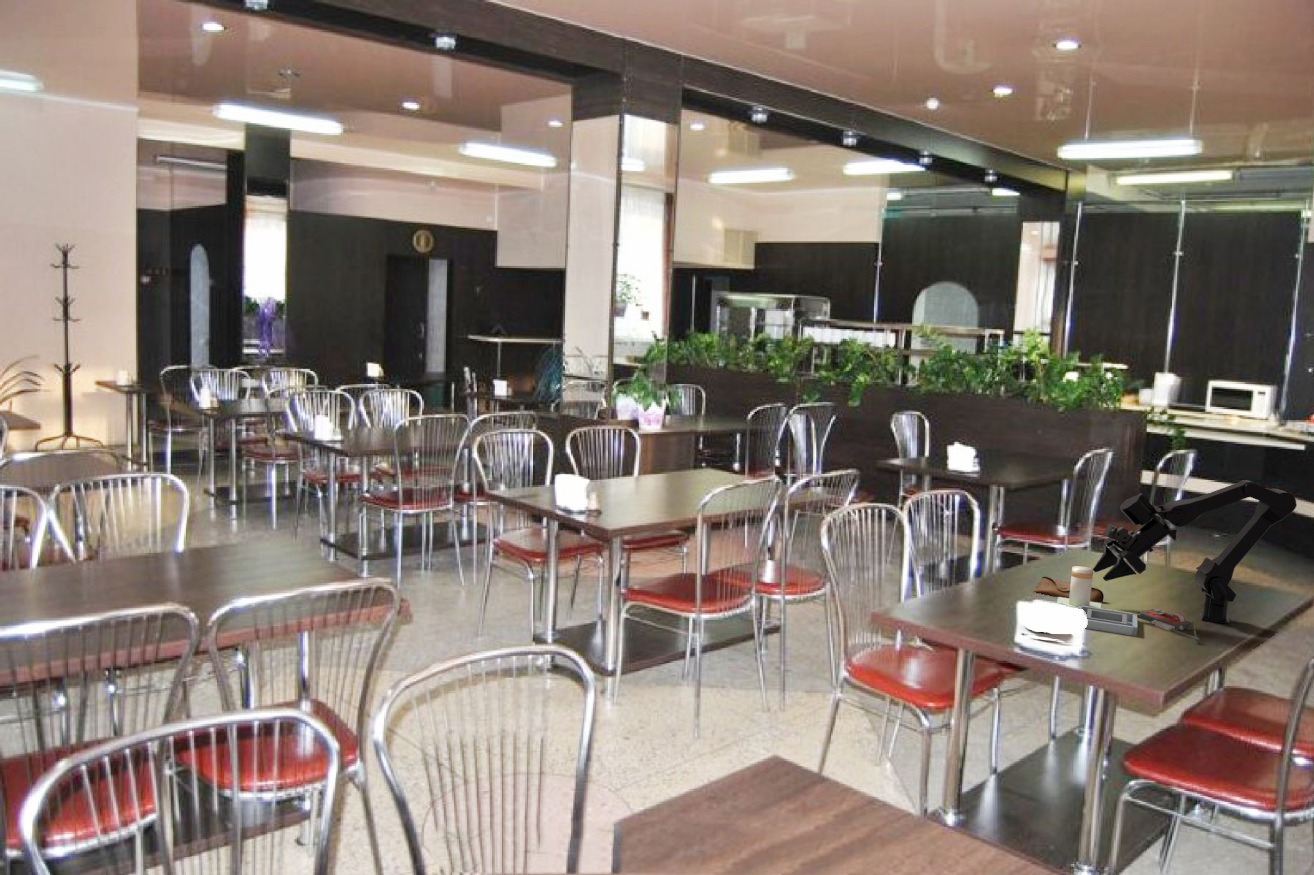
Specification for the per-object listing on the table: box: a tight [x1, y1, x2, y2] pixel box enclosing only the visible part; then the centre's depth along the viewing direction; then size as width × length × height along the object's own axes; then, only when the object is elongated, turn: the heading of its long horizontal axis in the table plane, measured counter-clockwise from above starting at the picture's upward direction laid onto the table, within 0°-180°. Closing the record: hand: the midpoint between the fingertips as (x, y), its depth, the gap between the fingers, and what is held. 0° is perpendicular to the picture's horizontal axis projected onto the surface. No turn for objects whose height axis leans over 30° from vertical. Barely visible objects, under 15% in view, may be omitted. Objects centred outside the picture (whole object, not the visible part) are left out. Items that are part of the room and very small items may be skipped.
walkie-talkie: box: [1137, 608, 1201, 642], centre depth 254 cm, size 9×4×20 cm
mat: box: [1056, 597, 1103, 608], centre depth 270 cm, size 11×11×1 cm
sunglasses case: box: [1032, 576, 1104, 603], centre depth 282 cm, size 18×7×7 cm, turn 45°
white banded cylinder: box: [1069, 565, 1094, 607], centre depth 270 cm, size 5×5×10 cm
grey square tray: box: [1078, 605, 1138, 637], centre depth 254 cm, size 14×14×3 cm
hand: (1098, 575), depth 269 cm, fingers open, 9 cm apart
